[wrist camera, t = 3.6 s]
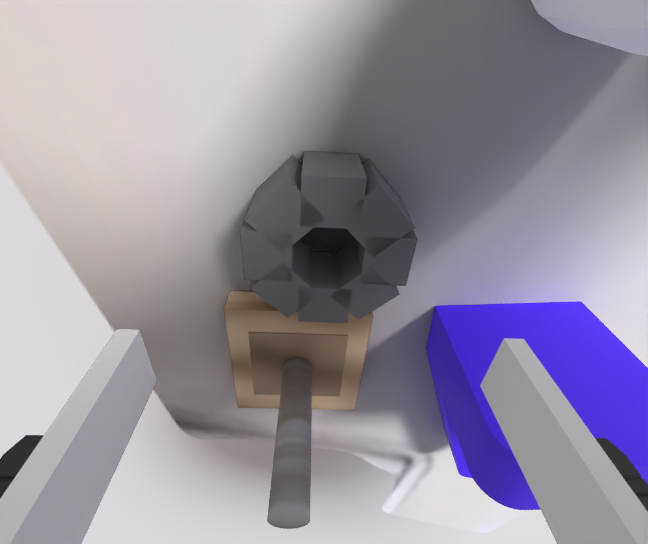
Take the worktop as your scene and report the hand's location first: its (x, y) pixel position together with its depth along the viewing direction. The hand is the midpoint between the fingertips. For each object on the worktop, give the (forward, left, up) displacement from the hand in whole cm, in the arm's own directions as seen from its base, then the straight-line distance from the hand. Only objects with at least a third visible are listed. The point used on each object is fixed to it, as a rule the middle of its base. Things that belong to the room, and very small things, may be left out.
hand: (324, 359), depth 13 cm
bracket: (+14, +15, -11) cm, 24 cm away
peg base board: (+11, -1, -11) cm, 15 cm away
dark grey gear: (0, 0, -11) cm, 11 cm away
